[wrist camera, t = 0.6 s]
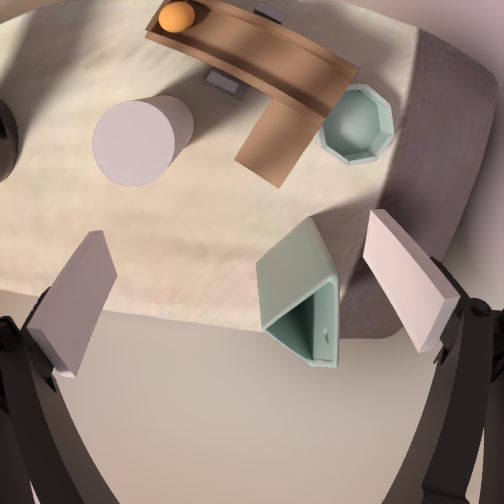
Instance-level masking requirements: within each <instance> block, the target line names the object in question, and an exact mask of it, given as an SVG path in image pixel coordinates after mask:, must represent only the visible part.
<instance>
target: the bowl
mask: <svg viewBox="0 0 504 504" xmlns="http://www.w3.org/2000/svg"><path fill="white" fill-rule="evenodd" d="M393 138H394V127H393V118H392V111H391V105H390V104H389V103H388V102H387V101H386V100H385V99H384V98H382V97H381V96H380V95H379V94H378V93H377V92H375V91H374V90H373V89H372V88H371V87H369V86H368V85H367V84H357V83H354V84H350V85H349V87H348V88H347V89H346V91H345V92H344V94H343V95H342V97H341V98H340V99H339V101H338V102H337V104H336V105H335V107H334V108H333V110H332V111H331V113H330V114H329V115H328V117H327V118H326V120H325V121H324V123H323V124H322V126H321V127H320V129H319V130H318V131H317V133H316V134H315V136H314V141H315V143H316V144H317V145H319V146H320V147H321V148H323V149H324V150H325V151H327V152H328V153H330V154H331V155H333V156H334V157H336V158H337V159H338V160H340V161H341V162H343V163H344V164H345V165H347V166H351V165H356V164H362V163H367V162H373V161H377V160H378V159H379V157H380V156H381V155H382V153H383V152H384V150H385V149H386V148H387V146H388V145H389V143H390V142H391V140H392V139H393Z"/></svg>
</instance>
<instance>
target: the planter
mask: <svg viewBox="0 0 504 504" xmlns="http://www.w3.org/2000/svg"><path fill="white" fill-rule="evenodd" d="M256 273H257V283H258V293H259V304H260V315H261V325H262V330H264V331H265V332H266V333H267V334H269V335H270V336H271V337H272V338H273V339H275V340H276V341H277V342H279V343H280V344H281V345H283V346H284V347H286V348H287V349H289V350H290V351H292V352H293V353H295V354H296V355H298V356H299V357H300V358H302V359H303V360H304V361H306V362H307V363H308V364H310V365H311V366H313V367H316V366H319V367H320V366H321V367H332V368H336V367H337V366H338V363H339V326H340V288H339V272H338V270H337V268H336V265H335V263H334V261H333V259H332V257H331V255H330V253H329V251H328V249H327V246H326V244H325V242H324V240H323V238H322V236H321V234H320V232H319V230H318V228H317V226H316V224H315V222H314V220H313V219H312V217H308V218H306V219H305V220H304V221H303V222H302V223H300V224H299V225H298V226H297V227H296V228H295V229H294V230H293V231H291V232H290V233H289V234H288V235H287V236H286V237H285V238H283V239H282V240H281V241H280V242H279V243H278V244H277V245H275V246H274V247H273V248H272V249H271V250H270V251H269V252H267V253H266V254H265V255H264V256H263V257H262V258H261V259H260V260H259V261H258V262H257V263H256ZM327 333H328V337H327ZM328 339H329V340H328Z"/></svg>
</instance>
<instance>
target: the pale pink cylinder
mask: <svg viewBox="0 0 504 504" xmlns="http://www.w3.org/2000/svg"><path fill="white" fill-rule="evenodd" d="M193 131H194V119H193V115H192V113H191V111H190V109H189V107H188V106H187V105H186V104H185V103H184V102H183V101H181V100H180V99H178V98H176V97H173V96H166V95H163V96H155V97H149V98H143V99H138V100H132V101H127V102H123V103H120V104H117V105H115V106H114V107H112V108H111V109H109V110H108V111H107V112H106V113H105V114H104V115H103V116H102V117H101V119H100V120H99V122H98V124H97V126H96V128H95V131H94V134H93V141H92V148H93V154H94V158H95V161H96V163H97V165H98V167H99V168H100V170H101V171H102V172H103V173H104V174H105V176H107V177H108V178H109V179H110V180H112V181H113V182H115V183H117V184H120V185H123V186H128V187H138V186H143V185H147V184H149V183H151V182H153V181H155V180H156V179H158V178H159V177H160V176H161V175H162V174H163V173H164V172H165V171H166V169H167V168H168V167H169V166H170V164H171V163H172V162H173V161H174V159H175V158H176V157H177V156H178V155H179V153H180V152H181V151H182V150H183V149H184V147H185V146H186V145H187V144H188V142H189V141H190V139H191V137H192V134H193Z"/></svg>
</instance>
